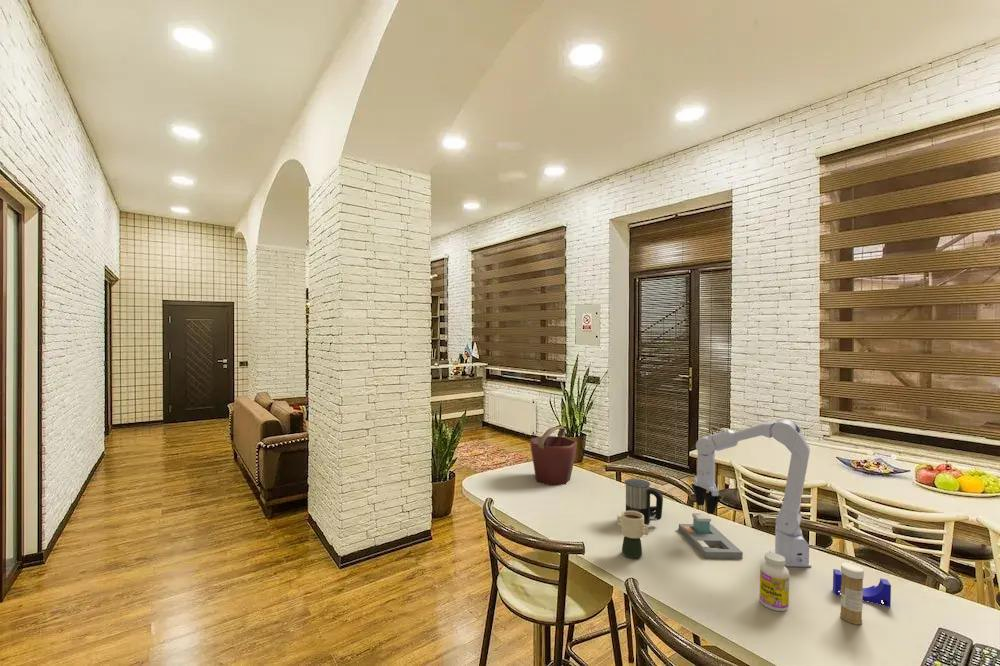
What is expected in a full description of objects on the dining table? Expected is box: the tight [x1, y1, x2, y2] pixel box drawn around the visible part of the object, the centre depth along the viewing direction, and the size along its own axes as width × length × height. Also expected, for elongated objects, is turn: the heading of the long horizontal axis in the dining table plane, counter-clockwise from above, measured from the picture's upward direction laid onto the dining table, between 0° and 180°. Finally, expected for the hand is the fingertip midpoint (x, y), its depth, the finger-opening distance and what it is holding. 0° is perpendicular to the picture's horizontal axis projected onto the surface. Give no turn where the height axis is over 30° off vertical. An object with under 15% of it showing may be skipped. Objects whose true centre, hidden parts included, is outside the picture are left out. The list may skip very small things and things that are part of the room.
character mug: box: [616, 510, 650, 558], centre depth 146 cm, size 11×7×13 cm, turn 45°
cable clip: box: [832, 568, 892, 608], centre depth 125 cm, size 12×4×6 cm, turn 64°
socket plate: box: [678, 523, 744, 559], centre depth 156 cm, size 21×12×2 cm, turn 1°
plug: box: [691, 512, 712, 534], centre depth 161 cm, size 5×5×7 cm
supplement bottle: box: [758, 552, 790, 612], centre depth 121 cm, size 7×7×13 cm
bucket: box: [529, 426, 578, 486], centre depth 219 cm, size 24×22×25 cm
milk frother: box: [624, 478, 664, 526], centre depth 176 cm, size 14×16×15 cm
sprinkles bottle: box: [839, 562, 865, 625], centre depth 115 cm, size 5×5×14 cm
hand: (705, 509), depth 162 cm, fingers open, 7 cm apart
